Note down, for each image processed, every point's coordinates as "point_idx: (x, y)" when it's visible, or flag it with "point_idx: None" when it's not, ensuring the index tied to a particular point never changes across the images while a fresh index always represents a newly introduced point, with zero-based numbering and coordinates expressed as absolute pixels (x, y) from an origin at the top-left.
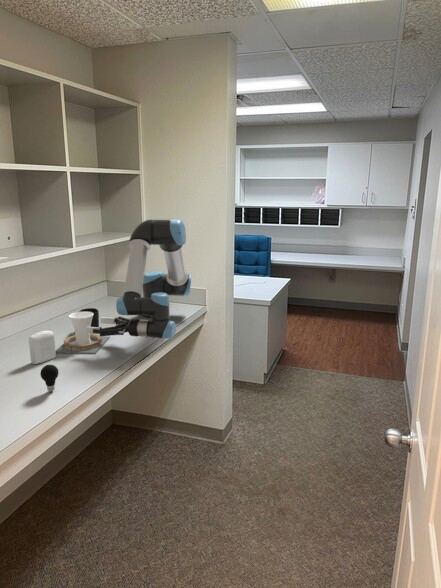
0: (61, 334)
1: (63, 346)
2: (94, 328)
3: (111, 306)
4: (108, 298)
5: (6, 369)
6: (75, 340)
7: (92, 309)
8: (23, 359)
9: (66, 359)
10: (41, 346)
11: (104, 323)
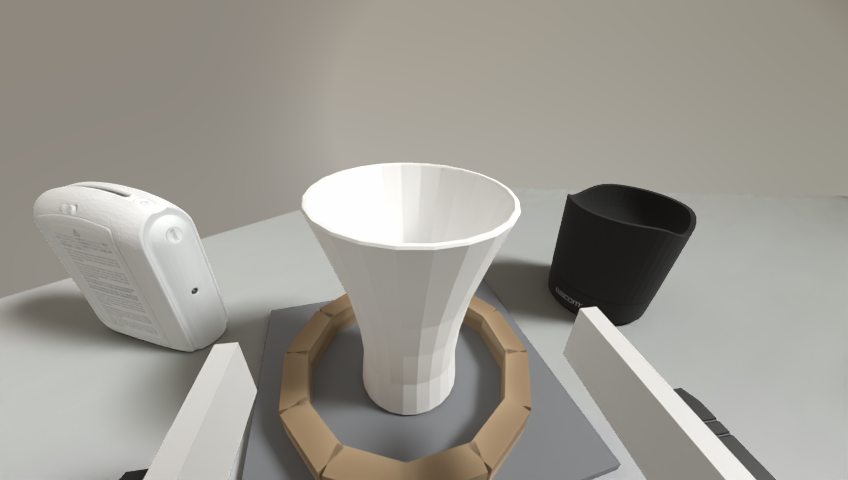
0: None
1: None
2: (153, 478)
3: (827, 234)
4: (833, 203)
5: None
6: None
7: (669, 205)
8: None
9: (143, 424)
10: (80, 266)
11: (586, 388)
